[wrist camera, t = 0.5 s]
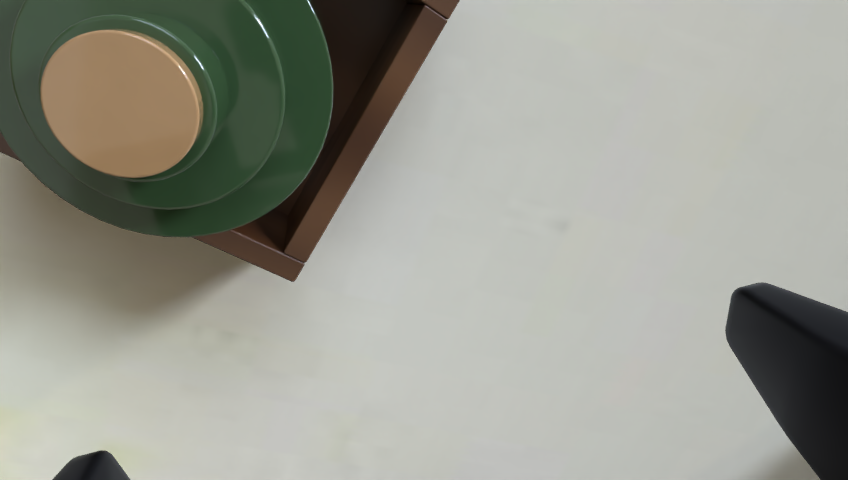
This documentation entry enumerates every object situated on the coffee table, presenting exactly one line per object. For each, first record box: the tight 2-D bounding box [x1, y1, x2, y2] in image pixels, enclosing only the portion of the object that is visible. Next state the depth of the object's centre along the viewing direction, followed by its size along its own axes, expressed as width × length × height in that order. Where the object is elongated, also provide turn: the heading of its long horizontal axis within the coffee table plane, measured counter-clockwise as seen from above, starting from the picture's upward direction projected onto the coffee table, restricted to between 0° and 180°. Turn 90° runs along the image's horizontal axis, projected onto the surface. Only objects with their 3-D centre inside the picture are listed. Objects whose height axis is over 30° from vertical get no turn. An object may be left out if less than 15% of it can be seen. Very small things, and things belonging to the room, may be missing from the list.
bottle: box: [0, 0, 333, 237], centre depth 13 cm, size 6×6×11 cm
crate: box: [0, 0, 460, 282], centre depth 17 cm, size 10×10×4 cm
